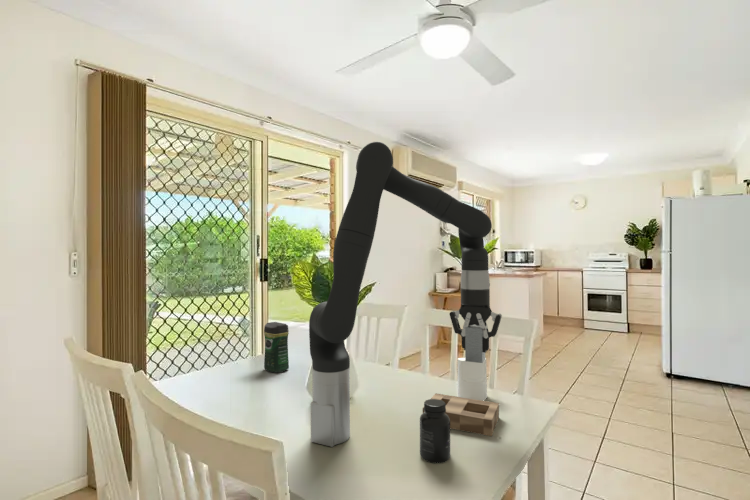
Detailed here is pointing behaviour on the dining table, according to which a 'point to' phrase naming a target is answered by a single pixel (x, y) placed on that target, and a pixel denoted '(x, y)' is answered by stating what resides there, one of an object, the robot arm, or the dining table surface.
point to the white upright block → (472, 380)
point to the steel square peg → (474, 344)
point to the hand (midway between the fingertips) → (475, 350)
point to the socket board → (470, 414)
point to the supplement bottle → (435, 432)
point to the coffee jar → (276, 347)
